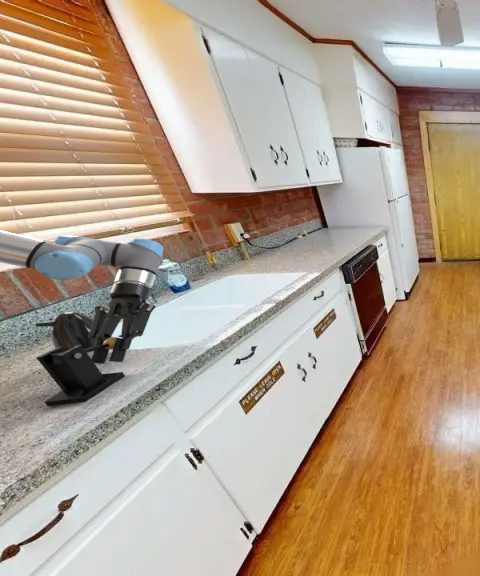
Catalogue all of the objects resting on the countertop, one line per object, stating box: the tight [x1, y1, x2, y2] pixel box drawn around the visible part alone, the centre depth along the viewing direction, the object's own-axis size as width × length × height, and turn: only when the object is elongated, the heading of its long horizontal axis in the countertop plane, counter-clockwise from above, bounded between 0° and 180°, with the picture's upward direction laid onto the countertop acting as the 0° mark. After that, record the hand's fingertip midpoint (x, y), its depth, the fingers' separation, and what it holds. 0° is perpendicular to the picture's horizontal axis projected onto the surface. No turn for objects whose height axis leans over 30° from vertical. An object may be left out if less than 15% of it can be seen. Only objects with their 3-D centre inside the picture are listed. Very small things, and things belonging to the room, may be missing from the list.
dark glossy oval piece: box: [34, 311, 113, 359], centre depth 89 cm, size 10×10×15 cm
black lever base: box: [36, 345, 126, 407], centre depth 76 cm, size 10×8×13 cm
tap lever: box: [50, 336, 119, 364], centre depth 80 cm, size 14×4×4 cm, turn 11°
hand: (106, 362), depth 83 cm, fingers closed on tap lever, 4 cm apart
